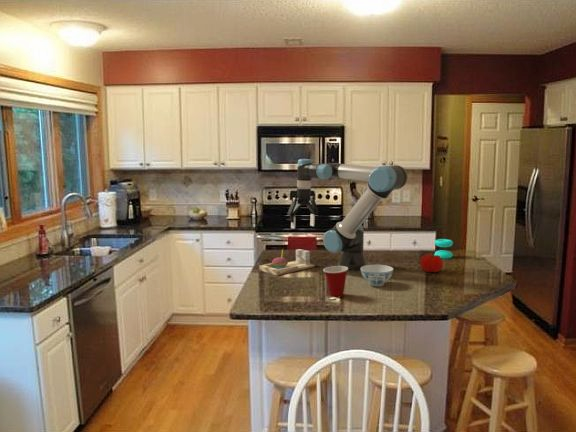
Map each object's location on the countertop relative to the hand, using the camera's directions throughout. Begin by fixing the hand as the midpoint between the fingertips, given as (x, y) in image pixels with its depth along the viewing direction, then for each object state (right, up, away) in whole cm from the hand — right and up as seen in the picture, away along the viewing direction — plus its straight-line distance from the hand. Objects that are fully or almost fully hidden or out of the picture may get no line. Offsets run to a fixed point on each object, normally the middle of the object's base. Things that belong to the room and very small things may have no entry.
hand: (302, 227), depth 268 cm
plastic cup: (+13, -28, -53) cm, 62 cm away
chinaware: (+33, -26, -38) cm, 57 cm away
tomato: (+65, -23, -15) cm, 71 cm away
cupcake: (-12, -23, -8) cm, 27 cm away
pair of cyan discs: (+82, -18, +18) cm, 86 cm away
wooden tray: (-8, -22, -5) cm, 24 cm away
